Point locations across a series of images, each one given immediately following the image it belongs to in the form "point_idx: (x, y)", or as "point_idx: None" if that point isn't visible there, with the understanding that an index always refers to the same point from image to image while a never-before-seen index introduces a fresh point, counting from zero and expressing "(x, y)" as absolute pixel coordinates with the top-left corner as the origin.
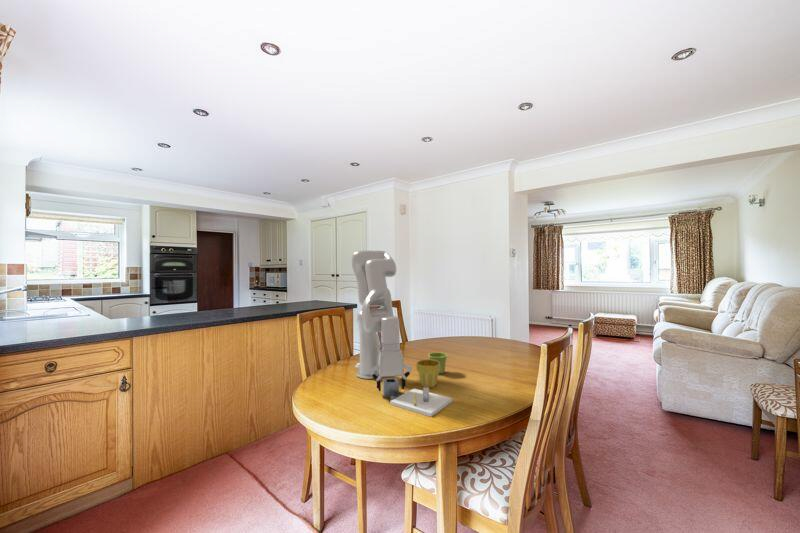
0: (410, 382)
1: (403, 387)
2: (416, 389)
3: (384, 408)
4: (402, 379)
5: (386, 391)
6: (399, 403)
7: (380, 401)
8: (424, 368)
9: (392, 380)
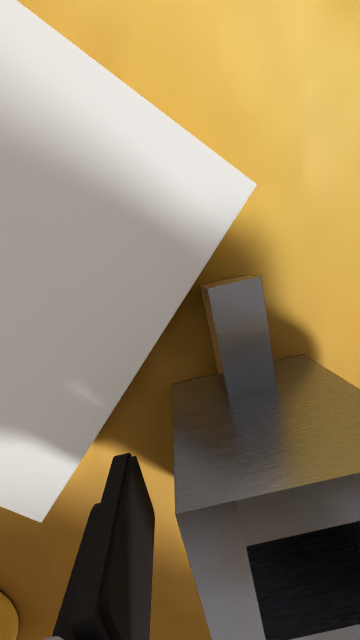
0: None
1: (118, 470)
2: (10, 501)
3: (299, 82)
4: (111, 634)
5: (315, 385)
6: (140, 109)
7: (337, 264)
8: None
9: (283, 605)
